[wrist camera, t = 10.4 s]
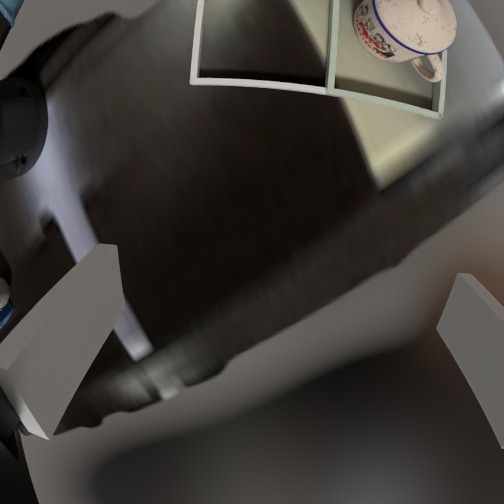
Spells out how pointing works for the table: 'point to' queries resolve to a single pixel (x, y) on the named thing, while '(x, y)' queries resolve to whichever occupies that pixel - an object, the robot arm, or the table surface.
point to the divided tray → (330, 72)
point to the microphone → (4, 303)
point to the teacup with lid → (407, 31)
